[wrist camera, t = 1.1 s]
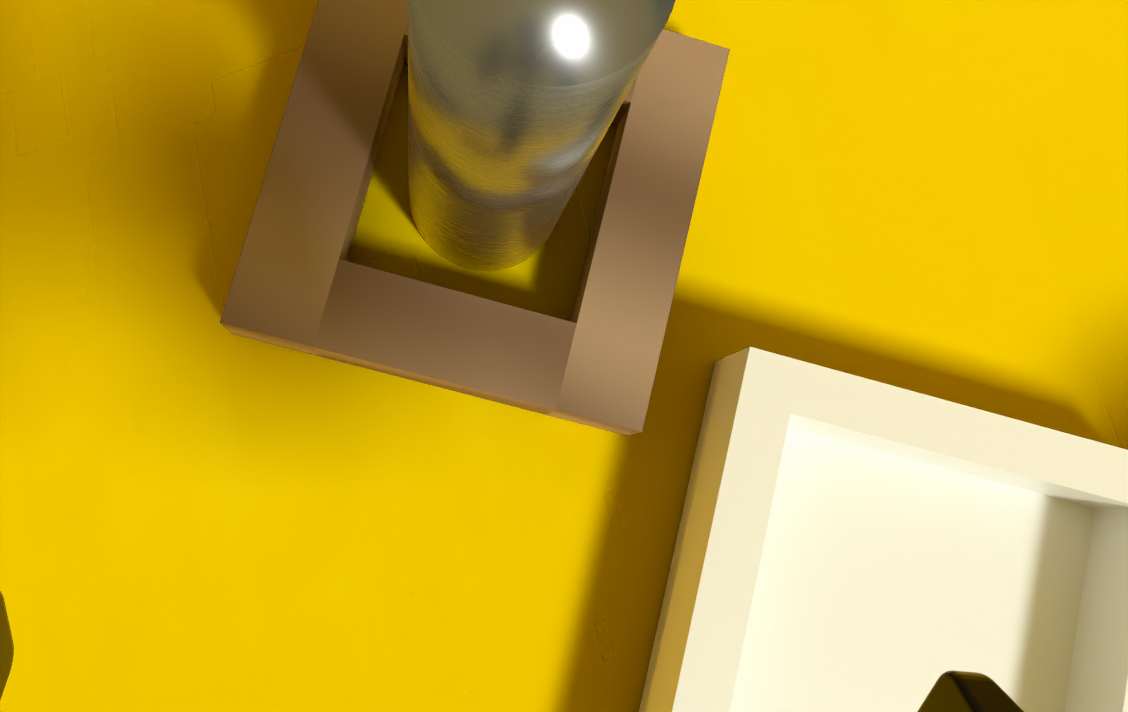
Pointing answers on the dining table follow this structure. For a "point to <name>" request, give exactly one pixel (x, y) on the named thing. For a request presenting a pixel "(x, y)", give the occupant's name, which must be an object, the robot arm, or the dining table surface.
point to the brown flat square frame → (448, 317)
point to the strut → (513, 113)
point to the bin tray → (887, 552)
